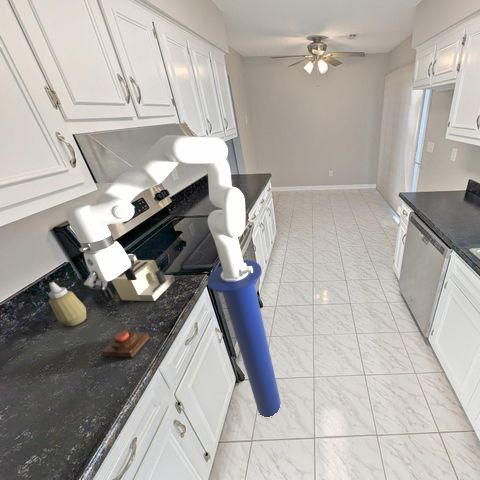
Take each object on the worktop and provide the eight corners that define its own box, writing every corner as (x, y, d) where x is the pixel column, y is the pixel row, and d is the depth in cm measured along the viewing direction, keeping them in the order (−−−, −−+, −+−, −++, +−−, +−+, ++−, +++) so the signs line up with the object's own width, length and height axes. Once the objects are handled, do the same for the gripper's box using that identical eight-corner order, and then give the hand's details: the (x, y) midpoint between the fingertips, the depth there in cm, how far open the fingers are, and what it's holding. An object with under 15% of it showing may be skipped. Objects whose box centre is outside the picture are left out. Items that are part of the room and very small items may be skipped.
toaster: (175, 280, 116) (167, 260, 111) (154, 301, 104) (144, 279, 99) (145, 280, 118) (136, 259, 113) (121, 300, 106) (110, 278, 101)
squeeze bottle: (74, 314, 100) (49, 277, 92) (95, 312, 100) (72, 275, 92) (57, 330, 93) (28, 291, 84) (79, 328, 93) (53, 289, 85)
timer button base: (149, 337, 87) (145, 328, 85) (132, 357, 80) (127, 348, 78) (123, 336, 88) (118, 327, 86) (104, 356, 81) (98, 347, 79)
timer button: (132, 334, 84) (130, 330, 83) (123, 343, 81) (121, 339, 80) (122, 334, 84) (120, 330, 83) (113, 342, 81) (111, 339, 80)
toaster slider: (167, 279, 111) (163, 270, 109) (163, 283, 109) (159, 274, 107) (161, 279, 112) (157, 270, 109) (157, 283, 109) (153, 274, 107)
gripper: (82, 258, 69) (109, 306, 77) (131, 231, 84) (149, 273, 92) (58, 257, 70) (87, 305, 78) (111, 231, 85) (131, 273, 93)
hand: (121, 288), depth 85 cm, fingers open, 9 cm apart
